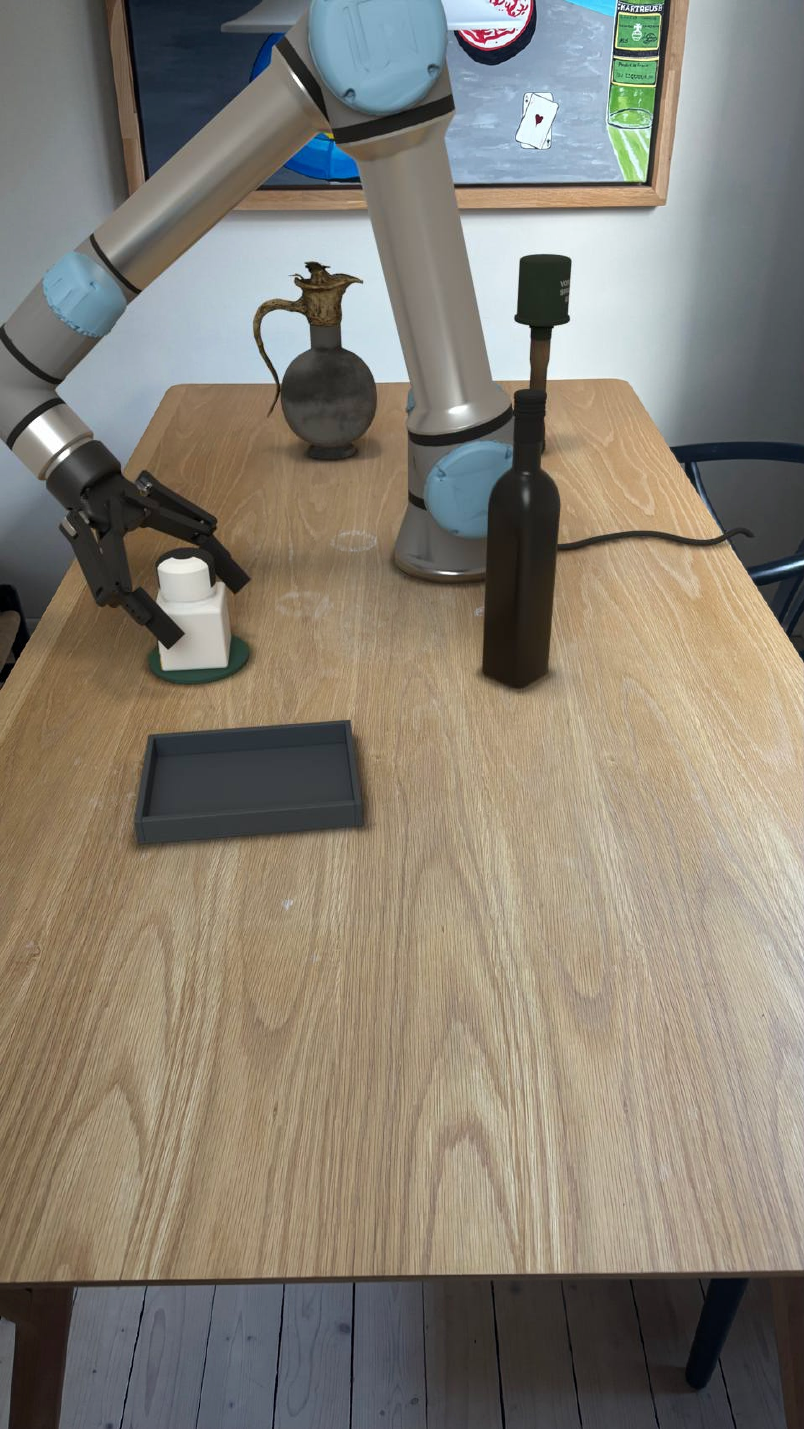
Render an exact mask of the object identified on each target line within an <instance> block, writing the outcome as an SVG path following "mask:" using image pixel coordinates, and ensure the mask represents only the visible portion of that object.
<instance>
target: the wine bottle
mask: <svg viewBox="0 0 804 1429" xmlns="http://www.w3.org/2000/svg"><path fill="white" fill-rule="evenodd" d="M547 399H548V394H547V391H546V392H545V391H542V390H538V389H529V388H522V389H518V390H515V391H514V393H513V416H514V436H513V440H514V441H513V459H512V467H511V468H510V469H509V470H507V471H506V472H505V473H504V474H503V475H502V476H501V477H500V478H498V479H497V481H496V483H495V484H494V486H493V487H492V490H491V493H490V496H489V501H488V518H487V546H486V573H485V579H484V602H483V604H484V605H483V633H482V658H481V672H482V674H484V675H485V676H486V677H488V678H490V679H492V680H494V681H497V682H498V683H501V684H503V685H504V686H507V687H509V688H512V689H515V690H519V689H522V688H526V687H527V686H528V685H531V684H532V683H534V682H536V681H537V680H539V679H540V678H542V677H545V675H547V674H548V672H549V664H550V650H551V636H552V626H553V625H552V623H553V610H554V598H555V597H554V596H555V585H556V571H557V560H558V559H557V557H558V550H557V547H558V544H559V533H560V521H561V520H560V519H561V507H562V506H561V505H562V504H561V496H560V493H559V488H558V485H557V484H556V482H555V479H554V478H552V477H551V475H550V474H549V473H548V472H547V471H546V470H544V469H543V468H542V454H543V453H542V440H543V422H545V417H546V415H547V411H546V409H547V407H546V405H547ZM541 453H542V454H541Z"/></svg>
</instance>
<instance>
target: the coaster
mask: <svg viewBox="0 0 804 1429" xmlns="http://www.w3.org/2000/svg"><path fill="white" fill-rule="evenodd" d="M249 657H250V651H249V647H248V645H247V643H246V642H245V641H244V640H243V639H241V638H240V637H239V636H236V635H233V634H231V642H230V651H229V660H228V666H227V667H226V668H214V669H195V670H177V671H163V670H162V668H161V662H160V656H159V650H158V645H156V646H155V647H154V648H153V649H152V650H151V652H150V653H149V655H148V661H147V663H148V667H149V670H150V671H151V672H152V674H153V675H155V676H156V677H157V678H159V679H161V680H163V681H167V682H170V683H175V684H181V685H200V684H207V683H212V682H217V681H220V680H223V679H226V678H228V677H230V676H232V675H234V674H236V673H237V672H239V671H241V669H242V668H243V667H244V666H245V665H246V664H247V663H248V661H249Z"/></svg>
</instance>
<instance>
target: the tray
mask: <svg viewBox="0 0 804 1429" xmlns="http://www.w3.org/2000/svg"><path fill="white" fill-rule="evenodd" d="M355 750H356V749H355V743H354V736H353V727H352V721H351V719H341V720H340V719H339V720H327V721H313V722H312V721H311V722H300V723H286V724H273V725H272V724H271V725H259V726H245V727H230V728H219V729H205V730H204V729H203V730H193V731H177V732H176V731H175V732H165V733H162V732H161V733H151V734H150V733H149V734H147V741H146V746H145V753H144V758H143V764H142V771H141V776H140V782H139V789H138V794H137V795H138V796H137V800H136V801H137V802H136V807H135V814H134V818H133V823H134V829H135V834H136V839H137V845H149V844H163V843H173V842H187V841H197V840H199V841H200V840H210V839H221V838H233V837H234V838H235V837H245V836H246V837H247V836H256V835H259V836H260V835H269V834H281V833H282V834H283V833H295V832H306V831H317V830H318V831H319V830H329V829H340V828H343V829H344V828H354V827H363V826H364V823H363V820H364V819H363V818H364V817H363V801H362V794H361V787H360V780H359V774H358V773H359V770H358V764H357V757H356V751H355Z"/></svg>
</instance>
